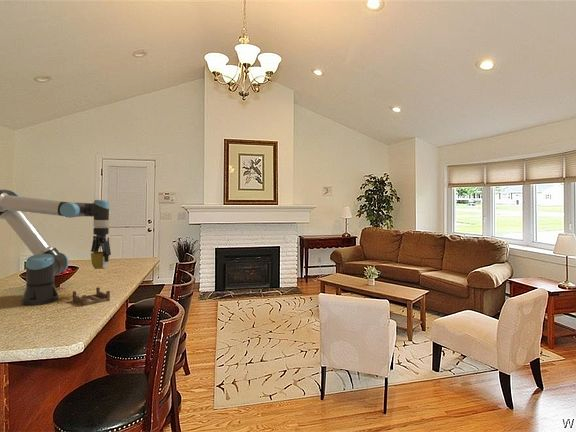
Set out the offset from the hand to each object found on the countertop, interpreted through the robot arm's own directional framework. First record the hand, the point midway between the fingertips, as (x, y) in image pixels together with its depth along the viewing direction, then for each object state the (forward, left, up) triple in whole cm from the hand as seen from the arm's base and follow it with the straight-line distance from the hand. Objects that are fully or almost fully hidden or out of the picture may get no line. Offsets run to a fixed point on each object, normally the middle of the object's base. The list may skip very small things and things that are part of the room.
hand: (100, 266), depth 194 cm
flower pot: (0, 0, -1) cm, 1 cm away
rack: (-10, -12, -15) cm, 22 cm away
